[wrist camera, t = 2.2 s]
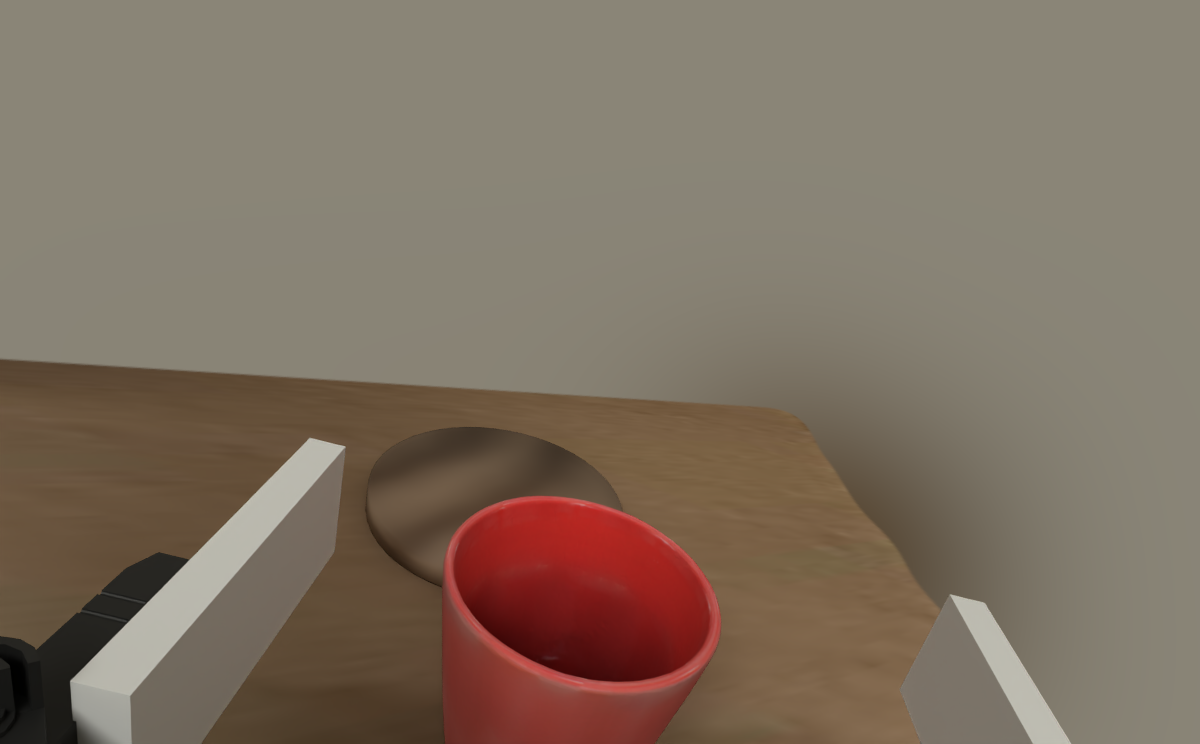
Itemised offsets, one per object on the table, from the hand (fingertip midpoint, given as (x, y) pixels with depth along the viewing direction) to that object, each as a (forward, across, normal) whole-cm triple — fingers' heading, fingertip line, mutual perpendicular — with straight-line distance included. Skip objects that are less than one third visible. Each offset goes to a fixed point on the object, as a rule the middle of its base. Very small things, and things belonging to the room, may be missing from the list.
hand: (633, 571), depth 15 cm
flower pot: (+10, 0, -18) cm, 21 cm away
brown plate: (+26, -6, -18) cm, 32 cm away
